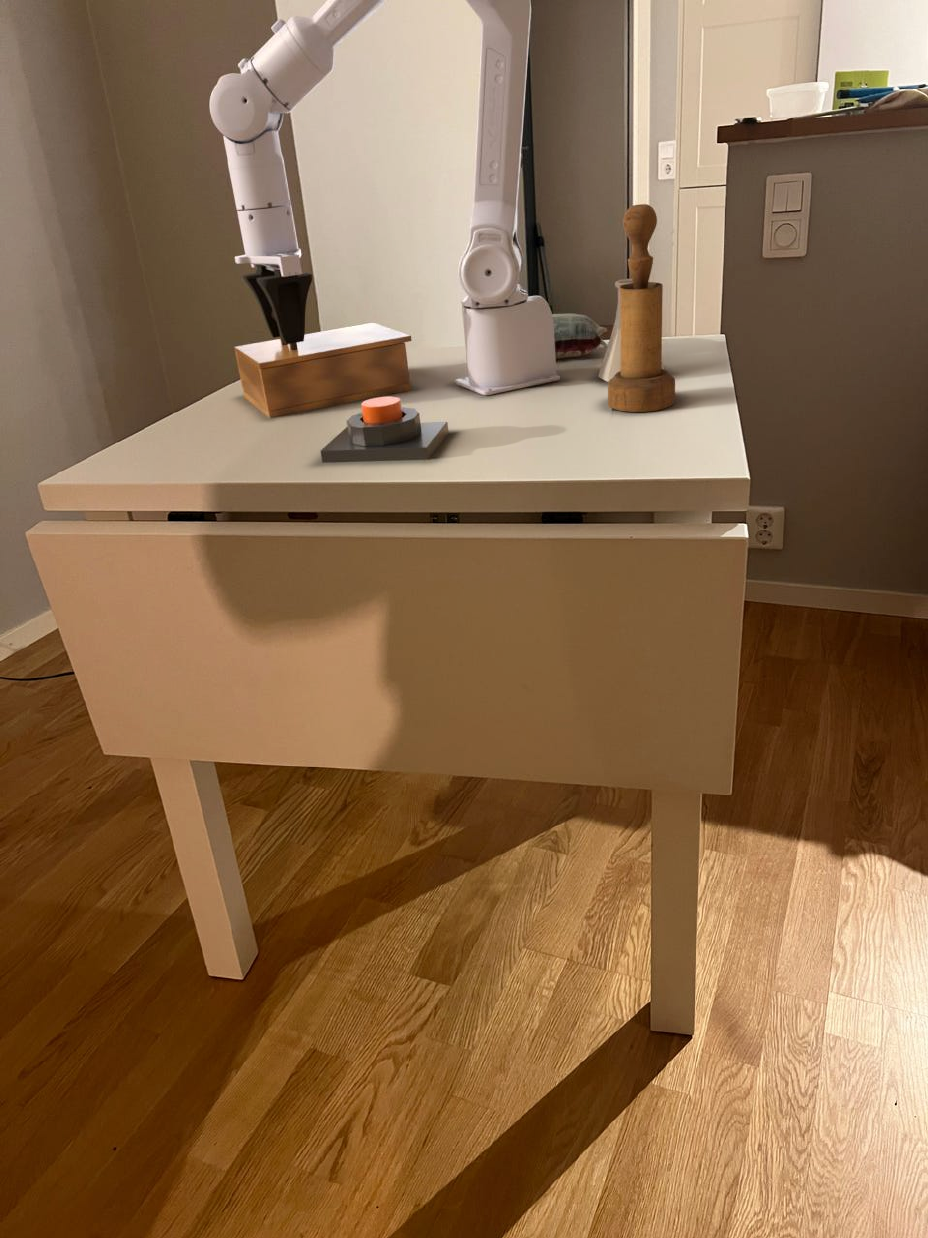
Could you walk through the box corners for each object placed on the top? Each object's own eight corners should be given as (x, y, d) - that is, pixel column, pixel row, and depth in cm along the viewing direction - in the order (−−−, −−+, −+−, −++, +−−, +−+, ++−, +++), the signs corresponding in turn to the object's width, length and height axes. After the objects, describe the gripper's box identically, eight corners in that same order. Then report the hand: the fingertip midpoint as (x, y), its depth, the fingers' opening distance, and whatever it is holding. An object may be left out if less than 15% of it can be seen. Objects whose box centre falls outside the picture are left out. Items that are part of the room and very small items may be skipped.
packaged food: (514, 350, 119) (512, 311, 116) (607, 344, 117) (606, 304, 114) (507, 367, 111) (504, 325, 109) (607, 360, 109) (606, 318, 107)
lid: (374, 327, 114) (368, 287, 111) (411, 340, 103) (406, 297, 101) (234, 351, 108) (226, 310, 106) (260, 368, 97) (251, 323, 95)
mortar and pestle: (675, 411, 87) (676, 204, 79) (606, 414, 89) (600, 211, 80) (675, 393, 93) (676, 198, 85) (610, 396, 94) (605, 204, 86)
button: (407, 414, 86) (404, 395, 85) (396, 425, 83) (394, 406, 82) (370, 415, 86) (367, 397, 86) (358, 426, 83) (355, 407, 83)
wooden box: (374, 372, 116) (368, 328, 113) (411, 389, 105) (405, 342, 103) (244, 397, 110) (235, 352, 108) (269, 418, 100) (260, 369, 97)
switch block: (448, 433, 88) (445, 402, 87) (428, 460, 81) (424, 427, 80) (350, 437, 90) (345, 406, 89) (322, 463, 83) (316, 431, 82)
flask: (662, 366, 104) (662, 272, 99) (668, 382, 97) (669, 282, 93) (597, 371, 105) (594, 278, 100) (599, 387, 98) (596, 288, 94)
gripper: (213, 210, 102) (238, 336, 108) (241, 213, 90) (268, 354, 96) (275, 203, 104) (296, 326, 111) (311, 204, 92) (332, 342, 99)
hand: (287, 339), depth 104 cm, fingers closed on lid, 5 cm apart
